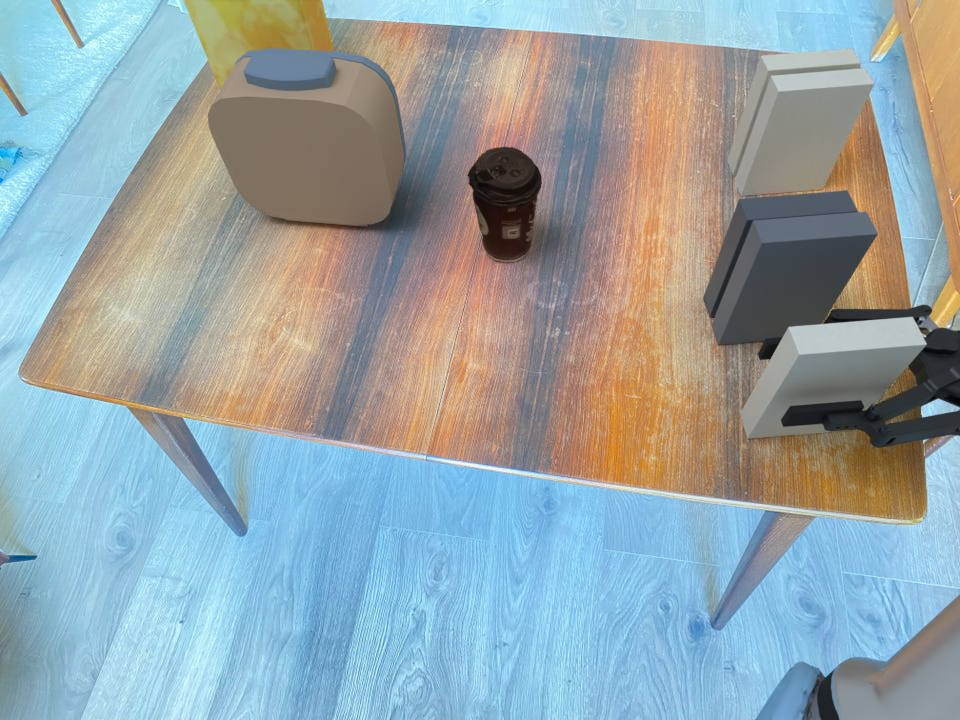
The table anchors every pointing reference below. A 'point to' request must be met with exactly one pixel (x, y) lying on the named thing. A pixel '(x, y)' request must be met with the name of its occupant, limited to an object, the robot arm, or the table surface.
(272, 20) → the yellow marbled panel
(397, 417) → the table surface
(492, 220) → the coffee cup
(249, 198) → the alarm clock
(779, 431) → the white book
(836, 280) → the grey books
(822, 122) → the white books
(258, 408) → the table surface
